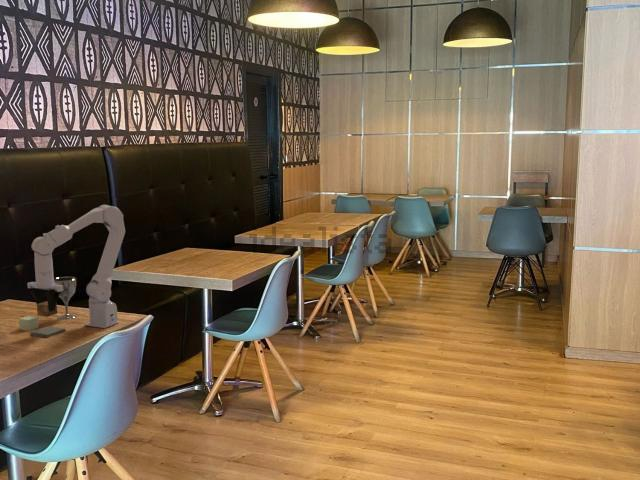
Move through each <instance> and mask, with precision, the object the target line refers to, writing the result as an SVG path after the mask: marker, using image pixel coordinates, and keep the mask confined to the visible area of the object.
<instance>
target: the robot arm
mask: <svg viewBox="0 0 640 480" xmlns="http://www.w3.org/2000/svg"><path fill="white" fill-rule="evenodd" d="M124 221H125V220H124V214H123V212H122V211H121V210H120V209H119V208H118V207H117V206H113V205H109V204H101V205H99V206H98V207H95V208H93V209H91V210H89V212H87V213H84V215H82V216H80V217H79V218H77V219H75V220H74V221H72V222H71V223H70V224H68V225H64V224H61V225H59V224H57V225H55V226H54V227H55V228H54V229H52V230H50V231H48V232H47V233H46V232H44V233H42V235H43V236H38V237H36V238H34V240H33V241H32V242H31V244H30V246H31V250H32V251H34V253H33V254H34V255H33V256H34V272H35V273H34V274H35V281H30V282H27V289H30V291H29V293H30V294H31V296H32V298H33V299H34V302H35V304H36V305H37V304H39V303H43V302H46V301H48V308H49V311H53V310H55V308H56V303H57V302H58V300H59V298H60V297H59V295H60V293H61V291H63V285H59V284H56V283H54V279H55V278H54V266H53V265H54V263H53V255H52V254H53V252H54V250H55V249H56V248H57V247H60V246H61V245H63V244H65V243H66V242H68V241H69V240H71V239H73V235H74V234H75V233H76V232H79V231H80V230H82V229H84V228H86V227H88V226H89V225H92V224H93V223H96V224H99V223H101V224H104V226H105V227H106V228H107V230H108V232H109V233H108V236H107V238H106V239H107V240H106V243H105V245H104V248H103V252H102V254H101V258H100V261H99V264H98V267H97V271H96V273H95V274H94V275H93V276H92V278H91V280H90V281H89V283H87V285H86V288H85V290H86V291H85V292H86V294H87V296H89V299H88V312H89V322H87V323H85V324H84V326H88V327H94V328H101V329H106V328H108V327H112V326H114V325H117V324H119V323H120V321H119V320H118V307H117V304H116V303H115V302H112V301H111V300H110V298H111V297H112V290H111V289H112V285H113V284H112V278H111V277H112V274H113V271H114V268H115V265H116V263H117V260H118V256H119V253H120V250H121V246H122V244H123V242H124V241H123V240H124V237H125V234H126V228H125V222H124ZM31 289H32V290H31ZM45 299H46V300H45ZM57 304H58V303H57Z"/></svg>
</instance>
